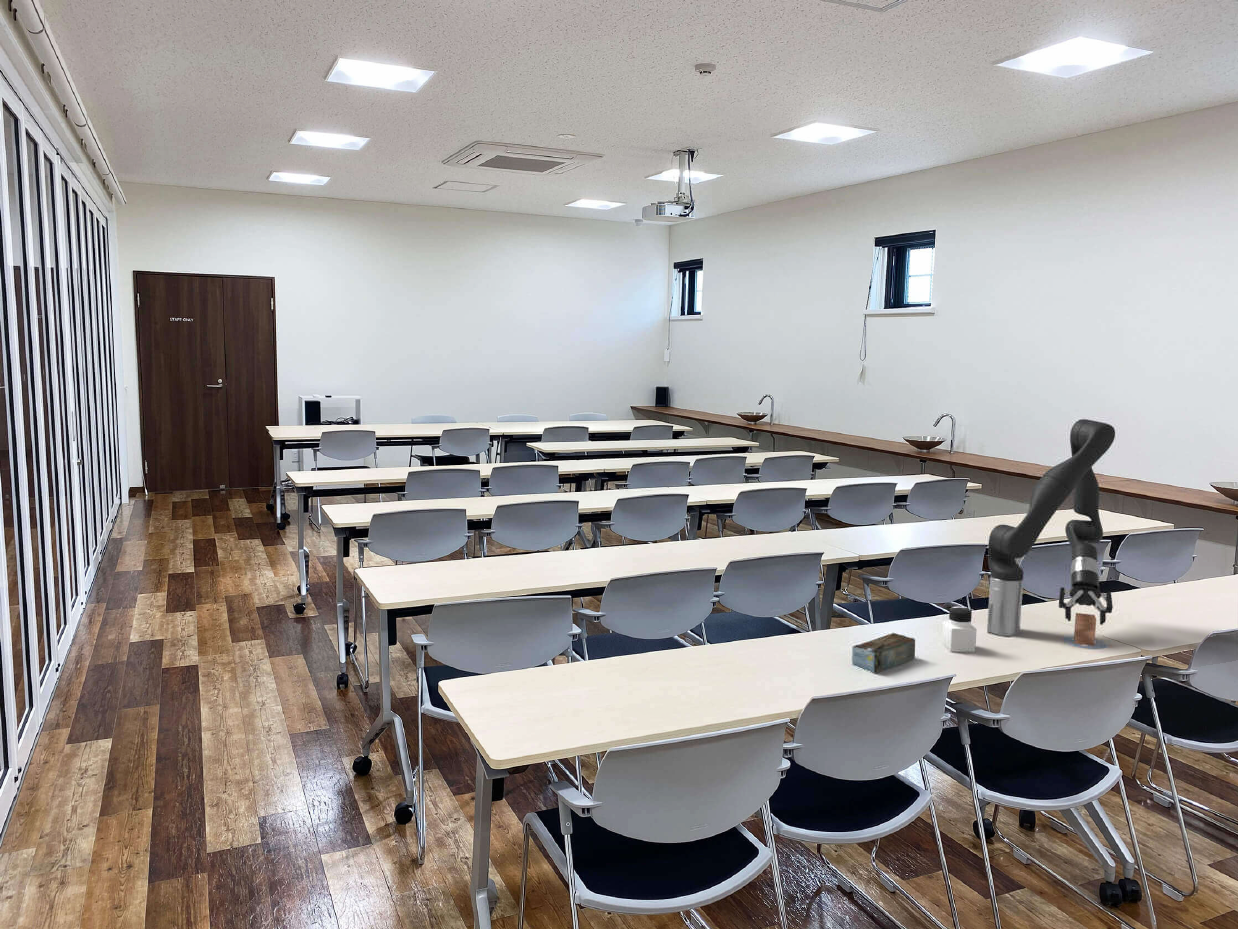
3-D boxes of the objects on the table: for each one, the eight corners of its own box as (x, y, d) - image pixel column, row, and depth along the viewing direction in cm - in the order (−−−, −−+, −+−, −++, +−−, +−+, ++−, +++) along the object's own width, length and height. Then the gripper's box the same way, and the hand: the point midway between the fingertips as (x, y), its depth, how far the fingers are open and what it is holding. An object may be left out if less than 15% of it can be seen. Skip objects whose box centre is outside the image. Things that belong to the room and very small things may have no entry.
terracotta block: (1075, 643, 258) (1077, 617, 257) (1073, 638, 263) (1075, 612, 262) (1094, 645, 256) (1096, 619, 255) (1092, 640, 261) (1094, 614, 260)
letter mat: (1062, 646, 257) (1062, 645, 257) (1060, 634, 268) (1060, 633, 268) (1109, 652, 252) (1109, 651, 252) (1104, 640, 263) (1104, 639, 263)
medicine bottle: (975, 652, 251) (977, 612, 249) (950, 652, 251) (952, 611, 250) (966, 644, 258) (968, 605, 257) (941, 644, 258) (944, 604, 257)
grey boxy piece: (849, 666, 240) (850, 643, 239) (892, 652, 252) (893, 630, 251) (874, 675, 234) (875, 651, 233) (916, 660, 245) (917, 637, 244)
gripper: (1060, 566, 269) (1059, 612, 260) (1112, 571, 263) (1114, 618, 254) (1057, 579, 274) (1057, 625, 265) (1109, 584, 269) (1111, 630, 260)
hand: (1085, 621), depth 260 cm, fingers open, 8 cm apart
